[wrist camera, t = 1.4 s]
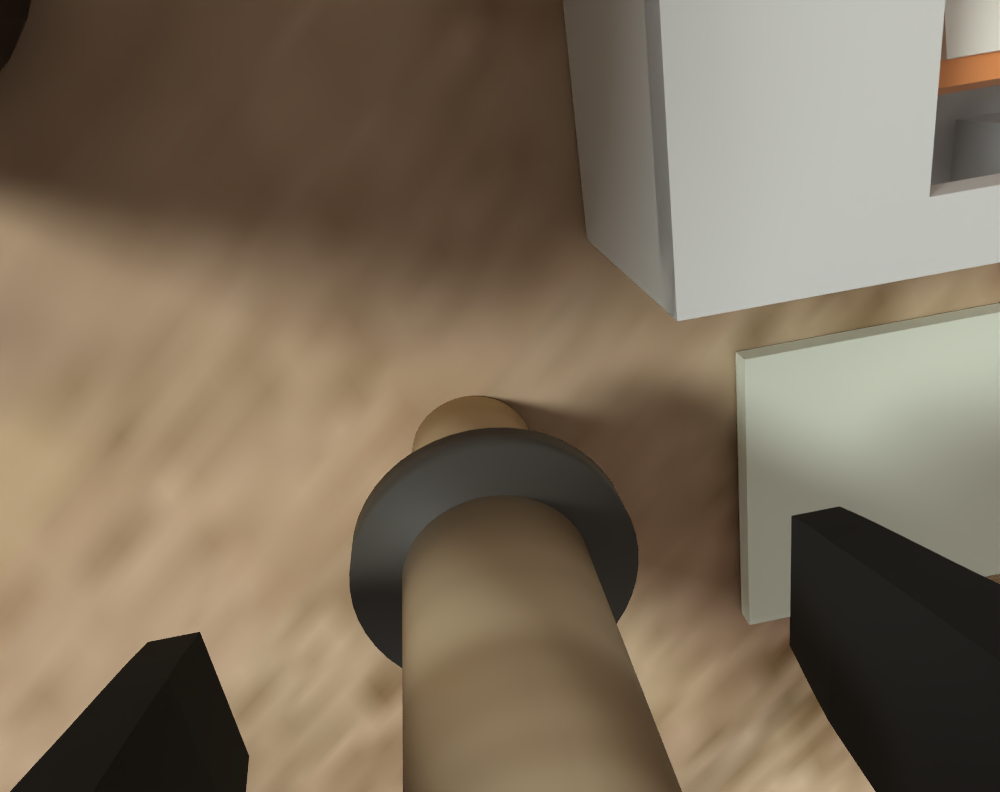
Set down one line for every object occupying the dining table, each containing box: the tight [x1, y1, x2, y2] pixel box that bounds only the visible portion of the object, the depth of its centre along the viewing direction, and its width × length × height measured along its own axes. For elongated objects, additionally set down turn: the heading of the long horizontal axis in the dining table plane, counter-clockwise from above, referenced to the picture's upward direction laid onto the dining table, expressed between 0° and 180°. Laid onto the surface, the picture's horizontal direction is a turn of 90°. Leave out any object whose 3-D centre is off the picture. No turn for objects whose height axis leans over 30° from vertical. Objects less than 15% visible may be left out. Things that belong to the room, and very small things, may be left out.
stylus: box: [349, 396, 682, 792], centre depth 10 cm, size 4×4×9 cm
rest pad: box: [736, 303, 1000, 625], centre depth 15 cm, size 6×6×1 cm
